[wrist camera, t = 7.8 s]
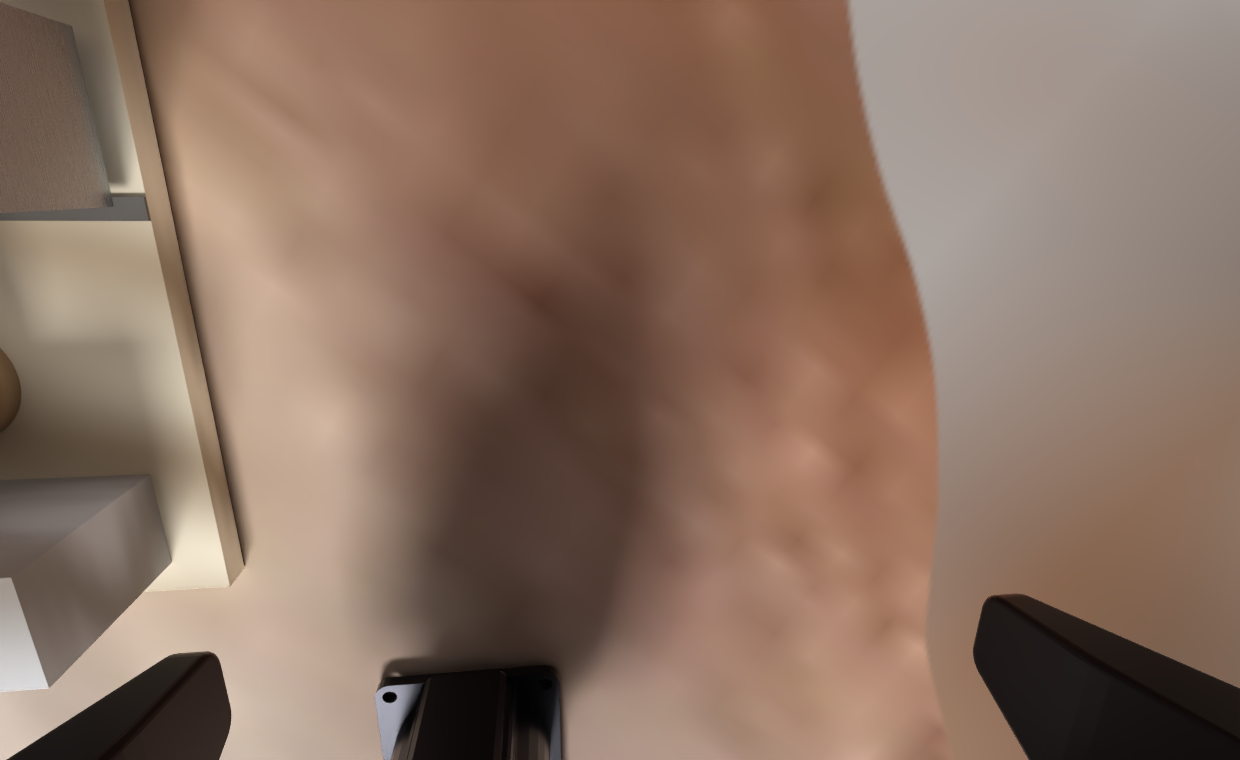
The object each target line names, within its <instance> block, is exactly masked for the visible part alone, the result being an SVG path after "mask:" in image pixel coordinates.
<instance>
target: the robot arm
mask: <svg viewBox="0 0 1240 760" xmlns="http://www.w3.org/2000/svg"><path fill="white" fill-rule="evenodd" d="M973 656H974V662H975V664H976V667H977V670H978V672H979V674H980V675H981V677H982V679H983V681H984V682H985V684H986V686H987V688H988V689H989V691H990V693H991V694H992V696H993V698H994V700H995V702H996V703H997V705H998V707H999V708H1000V710H1001V712H1002V714H1003V716H1004V717H1005V719H1006V721H1007V723H1008V724H1009V726H1010V728H1011V730H1012V731H1013V733H1014V735H1015V737H1016V738H1017V740H1018V742H1019V744H1020V745H1021V747H1022V749H1023V751H1024V752H1025V754H1026V755H1027V757H1028V759H1029V760H1240V688H1238V687H1235V686H1233V685H1231V684H1228V683H1226V682H1224V681H1222V680H1219V679H1217V678H1215V677H1213V676H1210V675H1208V674H1205V673H1203V672H1201V671H1199V670H1196V669H1194V668H1192V667H1190V666H1187V665H1185V664H1183V663H1180V662H1178V661H1176V660H1174V659H1171V658H1169V657H1166V656H1164V655H1162V654H1160V653H1157V652H1155V651H1153V650H1151V649H1148V648H1146V647H1144V646H1141V645H1139V644H1136V643H1134V642H1132V641H1130V640H1128V639H1125V638H1123V637H1121V636H1118V635H1116V634H1114V633H1112V632H1109V631H1107V630H1105V629H1102V628H1100V627H1098V626H1096V625H1093V624H1091V623H1089V622H1086V621H1084V620H1082V619H1080V618H1077V617H1075V616H1073V615H1070V614H1068V613H1066V612H1063V611H1061V610H1059V609H1057V608H1054V607H1052V606H1050V605H1047V604H1045V603H1043V602H1041V601H1038V600H1036V599H1034V598H1031V597H1029V596H1027V595H1023V594H1004V595H993V596H990V597H988V598H987V599H986V601H985V602H984V604H983V606H982V611H981V615H980V620H979V624H978V628H977V633H976V637H975V641H974V647H973ZM543 679H549V681H546V682H543V681H541V680H543ZM387 692H394V693H395V694H389V693H387ZM375 701H376V708H377V716H378V723H379V730H380V737H381V744H382V751H383V758H384V760H561V738H560V698H559V674H558V671H557V670H556V669H555V668H554V667H552V666H548V665H542V666H529V667H517V668H504V669H492V670H479V671H466V672H454V673H441V674H429V675H416V676H403V677H391V678H387V679H384V680H383V681H381V682H380V684H379V685H378V688H377V692H376V695H375ZM230 725H231V707H230V703H229V699H228V694H227V690H226V686H225V681H224V677H223V673H222V668H221V664H220V661H219V658H218V657H217V656H216V655H215V654H214V653H212V652H208V651H205V652H191V653H178V654H173V655H170V656H168V657H166V658H164V659H163V660H161V661H160V662H158V663H157V664H155V665H154V666H152V667H150V668H149V669H147V670H146V671H144V672H143V673H141V674H139V675H138V676H136V677H135V678H133V679H132V680H130V681H129V682H127V683H125V684H124V685H122V686H121V687H119V688H118V689H116V690H115V691H113V692H111V693H110V694H108V695H107V696H105V697H104V698H102V699H101V700H99V701H97V702H96V703H94V704H93V705H91V706H90V707H88V708H87V709H85V710H83V711H82V712H80V713H79V714H77V715H76V716H74V717H73V718H71V719H69V720H68V721H66V722H65V723H63V724H62V725H60V726H59V727H57V728H55V729H54V730H52V731H51V732H49V733H48V734H46V735H45V736H43V737H41V738H40V739H38V740H37V741H35V742H34V743H32V744H30V745H29V746H27V747H26V748H24V749H23V750H21V751H20V752H18V753H16V754H15V755H13V756H12V757H10V758H9V759H7V760H219V758H220V756H221V753H222V750H223V747H224V745H225V742H226V739H227V736H228V733H229V729H230Z"/></svg>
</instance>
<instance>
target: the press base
mask: <svg viewBox="0 0 1240 760" xmlns="http://www.w3.org/2000/svg"><path fill="white" fill-rule="evenodd" d="M0 2H1V3H4V4H7V5H10V6H13V7H16V8H19V9H22V10H25V11H28V12H31V13H34V14H37V15H40V16H43V17H46V18H49V19H52V20H55V21H58V22H61V23H64V24H67V25H70V26H72V27H73V31H74V36H75V40H76V44H77V49H78V53H79V57H80V62H81V66H82V70H83V75H84V79H85V83H86V87H87V92H88V96H89V100H90V105H91V109H92V113H93V118H94V122H95V126H96V131H97V135H98V139H99V144H100V148H101V152H102V157H103V161H104V165H105V169H106V174H107V178H108V182H109V187H110V191H111V195H112V200H113V204H114V207H100V208H83V209H66V210H48V211H31V212H14V213H0V348H1V349H2V351H3V352H4V353H5V354H6V355H7V357H8V358H9V359H10V361H11V362H12V364H13V366H14V368H15V370H16V372H17V375H18V377H19V380H20V385H21V394H22V396H21V404H20V408H19V411H18V413H17V415H16V417H15V419H14V420H13V421H12V423H11V424H10V425H9V426H8V427H7V428H6V429H4V430H3V431H2V432H0V692H9V691H22V690H35V689H48V688H50V687H51V686H52V685H53V684H54V683H55V682H56V681H57V680H58V679H59V678H60V677H61V676H62V675H63V674H64V672H65V671H66V670H67V669H68V668H69V667H70V666H71V665H72V664H73V663H74V662H75V661H76V660H77V659H78V658H79V657H80V656H81V655H82V654H83V653H84V652H85V651H86V650H87V649H88V648H89V647H90V646H91V645H92V644H93V643H94V642H95V641H96V640H97V639H98V638H99V637H100V636H101V635H102V634H103V633H104V631H105V630H106V629H107V628H108V627H109V626H110V625H111V624H112V623H113V622H114V621H115V620H116V619H117V618H118V617H119V616H120V615H121V614H122V613H123V612H124V611H125V610H126V609H127V608H128V607H129V606H130V605H131V604H132V603H133V602H134V601H135V600H136V599H137V598H138V597H139V596H140V595H141V594H142V593H143V592H151V591H168V590H184V589H200V588H217V587H230V586H231V585H232V583H233V582H234V581H235V579H236V578H237V577H238V576H239V574H240V573H241V572H242V570H243V569H244V563H243V558H242V553H241V549H240V544H239V539H238V534H237V529H236V524H235V519H234V514H233V510H232V505H231V500H230V495H229V490H228V485H227V480H226V475H225V470H224V466H223V461H222V456H221V451H220V446H219V441H218V436H217V431H216V427H215V422H214V417H213V412H212V407H211V402H210V397H209V392H208V387H207V383H206V378H205V373H204V368H203V363H202V358H201V353H200V348H199V344H198V339H197V334H196V329H195V324H194V319H193V314H192V309H191V304H190V300H189V295H188V290H187V285H186V280H185V275H184V270H183V265H182V261H181V256H180V251H179V246H178V241H177V236H176V231H175V226H174V221H173V217H172V212H171V207H170V202H169V197H168V192H167V187H166V182H165V178H164V173H163V168H162V163H161V158H160V153H159V148H158V143H157V139H156V134H155V129H154V124H153V119H152V114H151V109H150V104H149V99H148V95H147V90H146V85H145V80H144V75H143V70H142V65H141V60H140V56H139V51H138V46H137V41H136V36H135V31H134V26H133V21H132V16H131V12H130V7H129V2H128V0H0Z"/></svg>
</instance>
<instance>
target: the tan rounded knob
mask: <svg viewBox="0 0 1240 760" xmlns="http://www.w3.org/2000/svg"><path fill="white" fill-rule="evenodd" d="M21 396H22V394H21V385H20V380H19V377H18V375H17V372H16V370H15V368H14V366H13V364H12V362H11V361H10V359H9V358H8V357H7V355H6V354H5V353H4V352H3V351H2V349H1V348H0V432H2V431H3V430H4V429H6V428H7V427H8V426H9V425H10V424H11V423H12V421H13V420H14V419H15V417H16V415H17V413H18V411H19V408H20V404H21Z"/></svg>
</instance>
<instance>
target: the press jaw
mask: <svg viewBox="0 0 1240 760" xmlns="http://www.w3.org/2000/svg"><path fill="white" fill-rule="evenodd" d="M100 207H114V204H113V200H112V195H111V191H110V187H109V182H108V178H107V174H106V169H105V165H104V161H103V157H102V152H101V148H100V144H99V139H98V135H97V131H96V126H95V122H94V118H93V113H92V109H91V105H90V100H89V96H88V92H87V87H86V83H85V79H84V75H83V70H82V66H81V62H80V57H79V53H78V49H77V44H76V40H75V36H74V31H73V27H72V26H70V25H67V24H64V23H61V22H58V21H55V20H52V19H49V18H46V17H43V16H40V15H37V14H34V13H31V12H28V11H25V10H22V9H19V8H16V7H13V6H10V5H7V4H4V3H1V2H0V213H14V212H31V211H48V210H66V209H83V208H100Z"/></svg>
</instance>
